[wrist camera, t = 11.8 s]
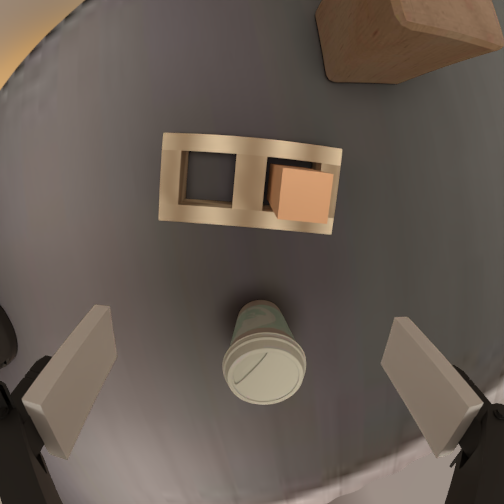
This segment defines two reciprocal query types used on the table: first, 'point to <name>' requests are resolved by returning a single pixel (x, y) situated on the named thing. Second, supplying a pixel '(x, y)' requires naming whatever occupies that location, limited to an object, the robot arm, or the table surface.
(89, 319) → the robot arm
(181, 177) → the socket block
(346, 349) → the table surface
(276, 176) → the peg
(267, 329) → the coffee cup
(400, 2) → the block
